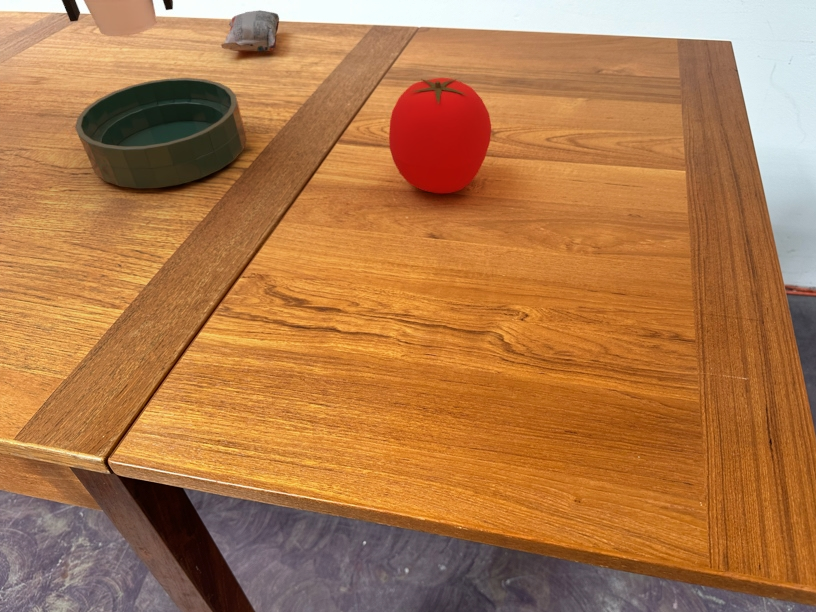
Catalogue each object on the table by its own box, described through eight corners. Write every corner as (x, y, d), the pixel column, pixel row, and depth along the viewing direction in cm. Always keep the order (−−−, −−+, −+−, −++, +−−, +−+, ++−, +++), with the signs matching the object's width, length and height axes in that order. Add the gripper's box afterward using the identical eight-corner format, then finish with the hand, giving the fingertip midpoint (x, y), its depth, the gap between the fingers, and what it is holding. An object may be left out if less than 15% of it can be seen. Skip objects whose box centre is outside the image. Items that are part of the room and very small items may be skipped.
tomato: (425, 220, 75) (418, 115, 66) (375, 176, 82) (363, 76, 73) (512, 186, 80) (517, 83, 71) (458, 147, 87) (456, 49, 78)
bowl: (88, 205, 79) (66, 160, 75) (101, 131, 92) (83, 89, 88) (252, 178, 83) (241, 133, 78) (243, 110, 96) (232, 69, 92)
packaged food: (225, 61, 109) (217, 30, 105) (233, 34, 117) (226, 5, 114) (278, 58, 110) (273, 27, 106) (282, 32, 118) (277, 2, 114)
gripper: (-121, -243, 55) (12, 36, 71) (156, -257, 59) (224, 10, 75) (-95, -248, 60) (23, 12, 76) (158, -261, 64) (221, -11, 80)
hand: (123, 11), depth 75 cm, fingers closed on foam cup, 9 cm apart
